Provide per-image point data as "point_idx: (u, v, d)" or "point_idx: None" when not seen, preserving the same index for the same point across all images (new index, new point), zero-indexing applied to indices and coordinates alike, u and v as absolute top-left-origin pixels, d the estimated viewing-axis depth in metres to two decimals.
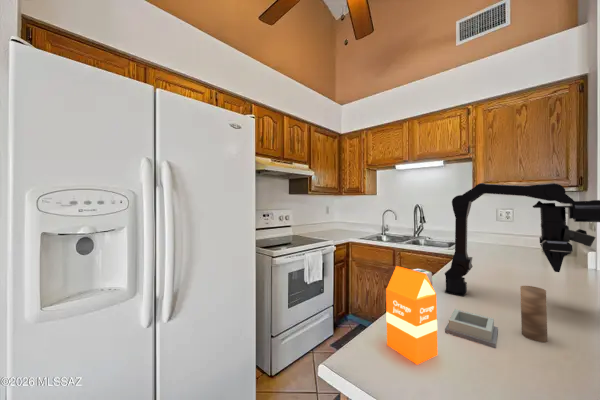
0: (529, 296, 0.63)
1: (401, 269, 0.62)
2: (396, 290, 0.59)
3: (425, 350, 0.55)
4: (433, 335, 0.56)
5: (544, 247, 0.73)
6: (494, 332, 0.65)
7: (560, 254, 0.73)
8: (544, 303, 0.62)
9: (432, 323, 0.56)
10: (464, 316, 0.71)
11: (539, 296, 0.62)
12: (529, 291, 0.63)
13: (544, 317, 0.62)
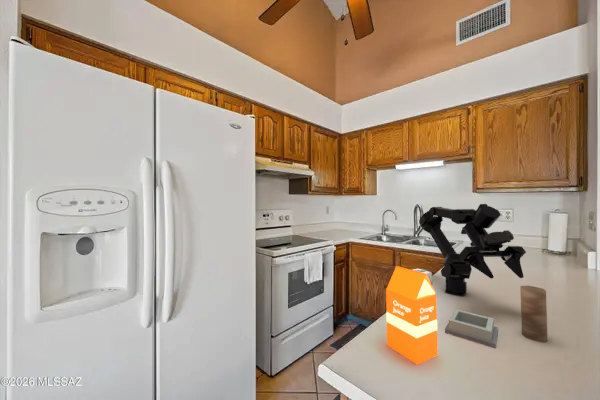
0: (529, 296, 0.63)
1: (401, 269, 0.62)
2: (396, 290, 0.59)
3: (425, 350, 0.55)
4: (433, 335, 0.56)
5: (460, 260, 0.80)
6: (494, 332, 0.65)
7: None
8: (544, 303, 0.62)
9: (432, 323, 0.56)
10: (464, 316, 0.71)
11: (539, 296, 0.62)
12: (529, 291, 0.63)
13: (544, 317, 0.62)
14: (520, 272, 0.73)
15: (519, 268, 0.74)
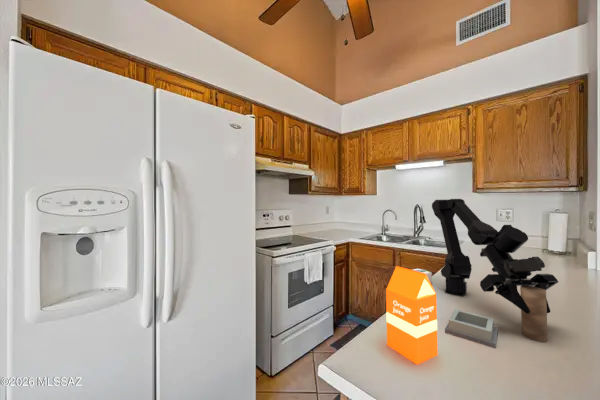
0: (529, 296, 0.63)
1: (401, 269, 0.62)
2: (396, 290, 0.59)
3: (425, 350, 0.55)
4: (433, 335, 0.56)
5: (482, 288, 0.71)
6: (494, 332, 0.65)
7: None
8: (544, 303, 0.62)
9: (432, 323, 0.56)
10: (464, 316, 0.71)
11: (539, 296, 0.62)
12: (529, 291, 0.63)
13: (544, 317, 0.62)
14: None
15: None
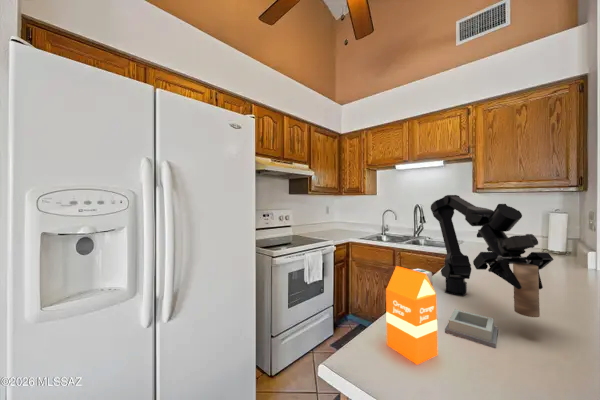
0: (520, 272, 0.64)
1: (401, 269, 0.62)
2: (396, 290, 0.59)
3: (425, 350, 0.55)
4: (433, 335, 0.56)
5: (475, 266, 0.71)
6: (494, 332, 0.65)
7: None
8: (536, 278, 0.62)
9: (432, 323, 0.56)
10: (464, 316, 0.71)
11: (530, 272, 0.62)
12: (521, 267, 0.64)
13: (536, 292, 0.62)
14: (539, 282, 0.64)
15: None
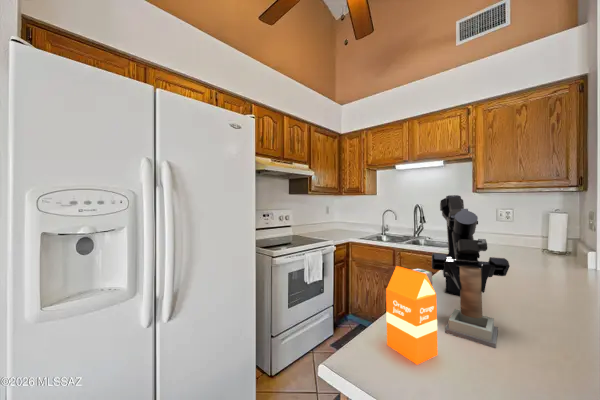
0: (461, 273, 0.67)
1: (401, 269, 0.62)
2: (396, 290, 0.59)
3: (425, 350, 0.55)
4: (433, 335, 0.56)
5: None
6: (494, 332, 0.65)
7: None
8: (474, 281, 0.65)
9: (432, 323, 0.56)
10: (464, 316, 0.71)
11: (469, 274, 0.66)
12: (461, 269, 0.67)
13: (474, 294, 0.65)
14: (483, 286, 0.66)
15: (483, 281, 0.66)
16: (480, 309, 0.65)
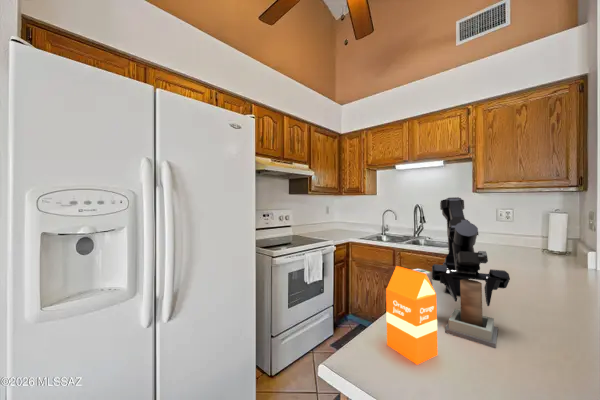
0: (462, 287, 0.67)
1: (401, 269, 0.62)
2: (396, 290, 0.59)
3: (425, 350, 0.55)
4: (433, 335, 0.56)
5: None
6: (494, 332, 0.65)
7: None
8: (475, 295, 0.65)
9: (432, 323, 0.56)
10: None
11: (469, 288, 0.66)
12: (462, 283, 0.67)
13: (474, 309, 0.65)
14: (488, 299, 0.65)
15: (488, 295, 0.65)
16: (480, 324, 0.65)
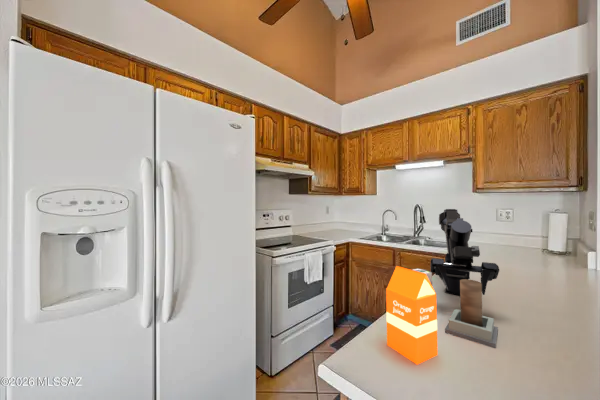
0: (462, 288, 0.67)
1: (401, 269, 0.62)
2: (396, 290, 0.59)
3: (425, 350, 0.55)
4: (433, 335, 0.56)
5: None
6: (494, 332, 0.65)
7: None
8: (475, 296, 0.65)
9: (432, 323, 0.56)
10: None
11: (469, 288, 0.66)
12: (462, 283, 0.67)
13: (474, 309, 0.65)
14: (483, 289, 0.73)
15: (483, 285, 0.73)
16: (480, 324, 0.65)
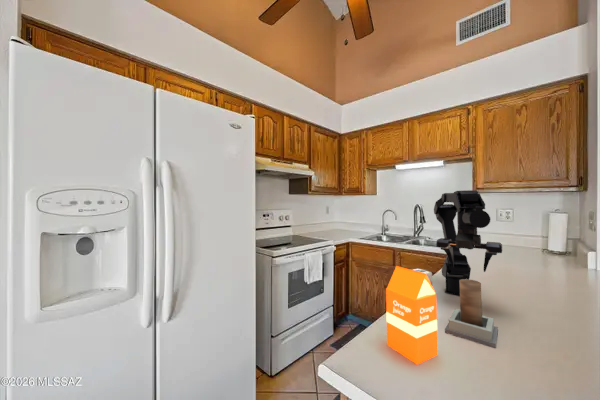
0: (461, 287, 0.67)
1: (401, 269, 0.62)
2: (396, 290, 0.59)
3: (425, 350, 0.55)
4: (433, 335, 0.56)
5: None
6: (494, 332, 0.65)
7: None
8: (474, 295, 0.65)
9: (432, 323, 0.56)
10: None
11: (469, 288, 0.66)
12: (461, 283, 0.67)
13: (474, 309, 0.65)
14: (484, 267, 0.81)
15: (485, 264, 0.80)
16: (480, 323, 0.65)
